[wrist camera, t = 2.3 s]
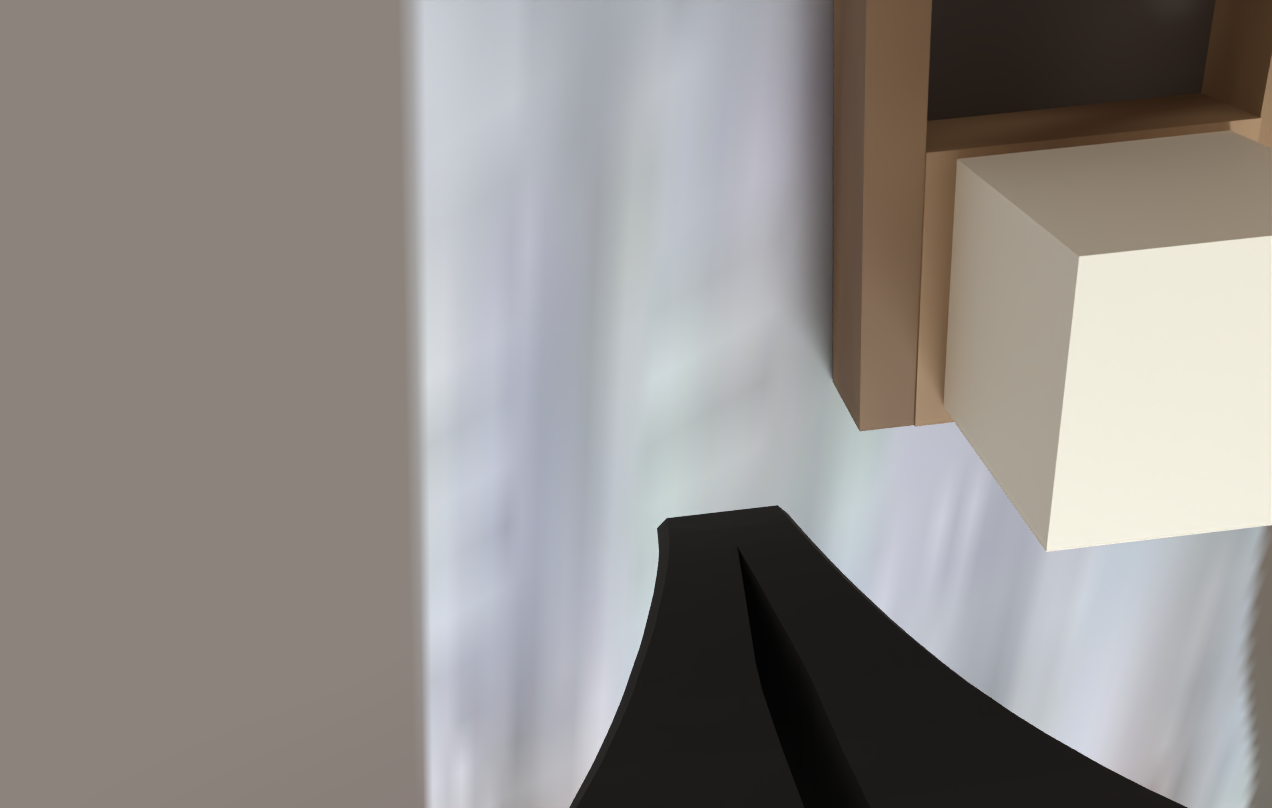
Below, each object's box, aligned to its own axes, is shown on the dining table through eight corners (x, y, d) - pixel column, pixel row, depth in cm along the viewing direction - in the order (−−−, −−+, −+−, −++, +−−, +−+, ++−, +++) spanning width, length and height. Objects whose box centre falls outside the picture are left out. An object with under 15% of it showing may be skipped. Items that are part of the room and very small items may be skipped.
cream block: (1230, 130, 18) (1427, 218, 14) (1188, 378, 20) (1349, 515, 16) (956, 158, 18) (1079, 256, 14) (943, 405, 20) (1045, 551, 16)
